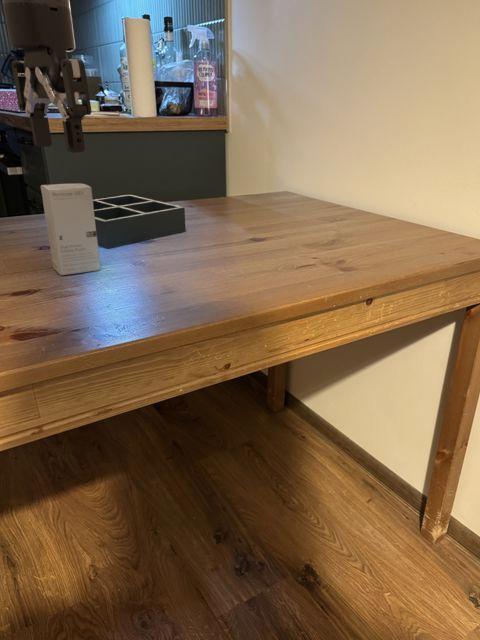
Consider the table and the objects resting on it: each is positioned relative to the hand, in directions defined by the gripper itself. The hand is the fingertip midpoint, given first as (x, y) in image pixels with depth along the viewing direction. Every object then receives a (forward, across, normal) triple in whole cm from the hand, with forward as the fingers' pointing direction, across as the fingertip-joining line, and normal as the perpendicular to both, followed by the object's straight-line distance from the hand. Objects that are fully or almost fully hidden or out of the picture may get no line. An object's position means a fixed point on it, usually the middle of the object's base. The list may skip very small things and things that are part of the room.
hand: (59, 149), depth 67 cm
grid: (+17, -15, +18) cm, 29 cm away
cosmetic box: (+17, 0, 0) cm, 17 cm away
